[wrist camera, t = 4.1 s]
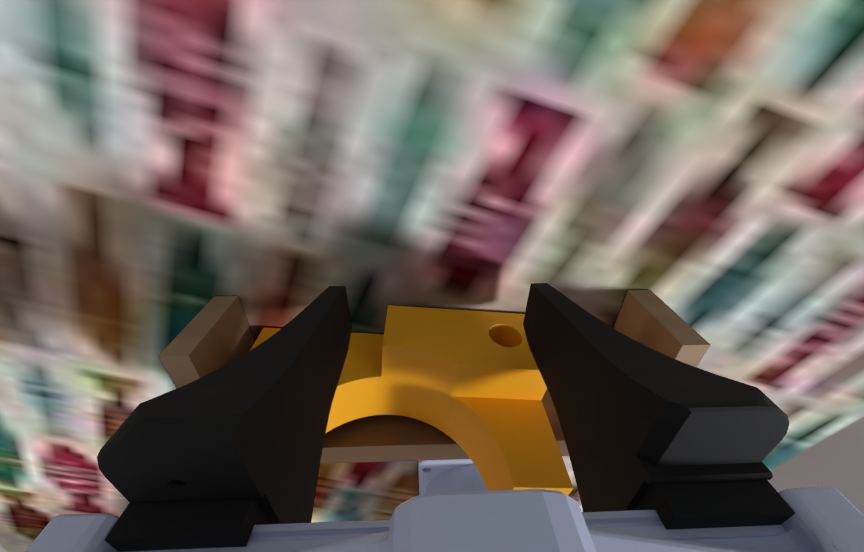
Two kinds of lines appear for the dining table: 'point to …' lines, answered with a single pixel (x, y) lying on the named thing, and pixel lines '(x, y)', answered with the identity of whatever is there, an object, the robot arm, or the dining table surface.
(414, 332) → the pipe clamp
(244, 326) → the bracket
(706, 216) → the dining table surface
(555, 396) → the robot arm
